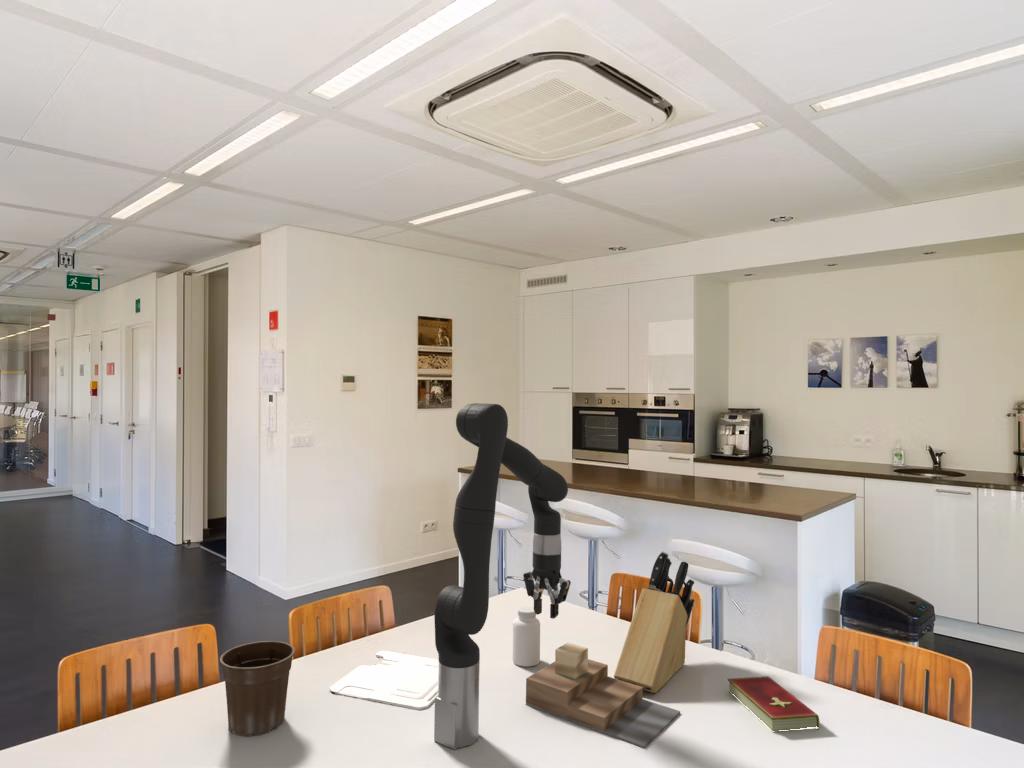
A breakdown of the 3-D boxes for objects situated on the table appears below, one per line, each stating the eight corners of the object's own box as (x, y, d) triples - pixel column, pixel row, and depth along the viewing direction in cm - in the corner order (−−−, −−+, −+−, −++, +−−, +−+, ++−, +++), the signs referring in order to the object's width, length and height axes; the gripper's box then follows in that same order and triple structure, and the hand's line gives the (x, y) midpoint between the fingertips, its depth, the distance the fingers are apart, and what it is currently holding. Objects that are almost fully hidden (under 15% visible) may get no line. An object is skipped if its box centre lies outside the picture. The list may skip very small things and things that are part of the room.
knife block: (696, 654, 195) (698, 550, 195) (653, 699, 166) (654, 577, 166) (660, 645, 201) (662, 545, 202) (612, 687, 172) (614, 570, 172)
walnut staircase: (644, 748, 142) (644, 718, 143) (525, 704, 162) (526, 678, 162) (680, 713, 158) (680, 686, 159) (568, 677, 178) (568, 653, 178)
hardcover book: (769, 691, 172) (769, 675, 172) (819, 731, 152) (819, 713, 152) (727, 693, 170) (727, 677, 170) (772, 735, 150) (772, 716, 150)
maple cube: (575, 679, 161) (575, 655, 161) (555, 673, 165) (555, 649, 165) (587, 671, 166) (587, 648, 166) (567, 665, 170) (567, 642, 170)
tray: (325, 694, 167) (326, 688, 167) (381, 653, 193) (381, 648, 193) (424, 713, 158) (424, 707, 158) (468, 667, 184) (468, 662, 184)
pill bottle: (540, 657, 191) (541, 605, 191) (538, 668, 183) (539, 615, 183) (513, 655, 192) (514, 604, 192) (510, 666, 184) (511, 613, 184)
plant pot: (220, 712, 156) (222, 644, 156) (292, 701, 161) (293, 636, 162) (215, 747, 140) (217, 672, 141) (294, 734, 146) (296, 662, 146)
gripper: (516, 548, 172) (515, 613, 172) (562, 557, 164) (561, 625, 163) (532, 543, 178) (532, 606, 178) (577, 551, 170) (576, 617, 169)
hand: (546, 615), depth 171 cm, fingers open, 4 cm apart
